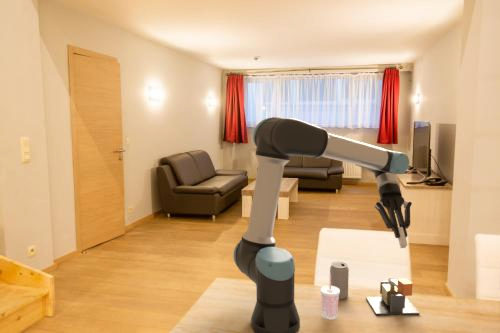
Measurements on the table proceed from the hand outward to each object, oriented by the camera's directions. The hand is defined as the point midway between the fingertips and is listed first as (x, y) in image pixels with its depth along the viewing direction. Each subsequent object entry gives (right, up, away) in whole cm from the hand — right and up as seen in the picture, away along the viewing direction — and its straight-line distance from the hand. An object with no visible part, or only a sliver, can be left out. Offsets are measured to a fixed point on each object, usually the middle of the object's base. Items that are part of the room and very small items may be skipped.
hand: (403, 246), depth 129 cm
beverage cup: (-26, -22, -4) cm, 34 cm away
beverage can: (-20, -20, +9) cm, 29 cm away
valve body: (-4, -21, +1) cm, 21 cm away
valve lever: (-3, -13, -4) cm, 14 cm away
